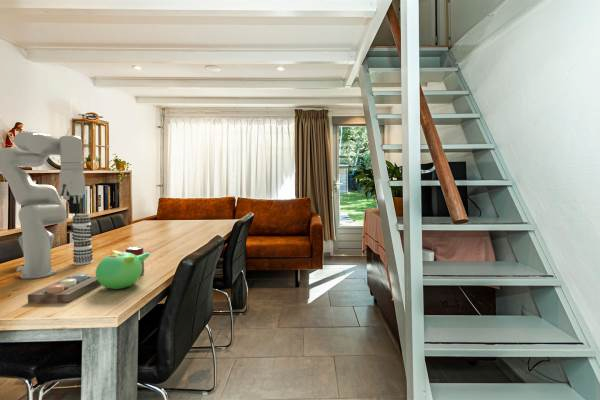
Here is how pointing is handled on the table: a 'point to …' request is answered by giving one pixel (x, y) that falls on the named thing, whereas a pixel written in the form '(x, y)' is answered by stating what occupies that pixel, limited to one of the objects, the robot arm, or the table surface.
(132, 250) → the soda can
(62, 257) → the table surface
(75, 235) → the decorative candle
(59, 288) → the terracotta button
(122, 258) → the green rounded body
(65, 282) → the cream button
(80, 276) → the slate-blue button
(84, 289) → the brown wooden tray
